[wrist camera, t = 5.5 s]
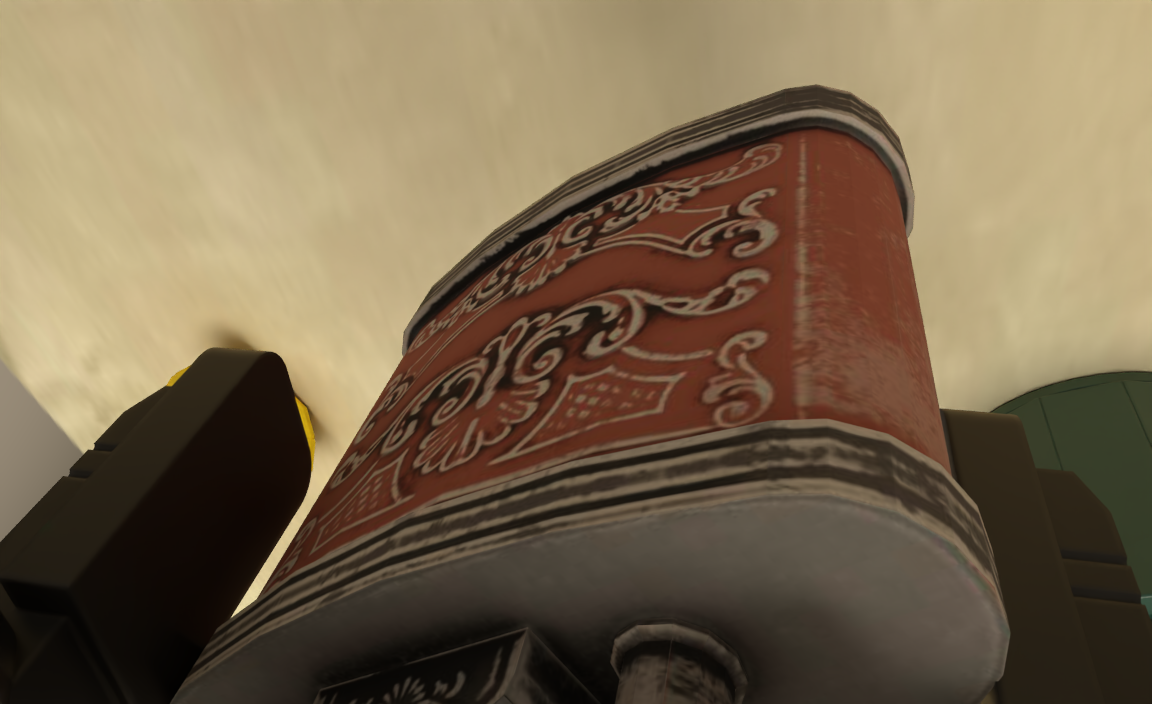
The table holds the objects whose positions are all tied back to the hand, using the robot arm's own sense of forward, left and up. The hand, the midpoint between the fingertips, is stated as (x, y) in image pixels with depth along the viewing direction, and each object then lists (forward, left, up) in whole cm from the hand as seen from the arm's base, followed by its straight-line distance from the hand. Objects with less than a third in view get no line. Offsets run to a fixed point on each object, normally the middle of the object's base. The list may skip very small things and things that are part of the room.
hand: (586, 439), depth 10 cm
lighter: (0, 0, -4) cm, 4 cm away
